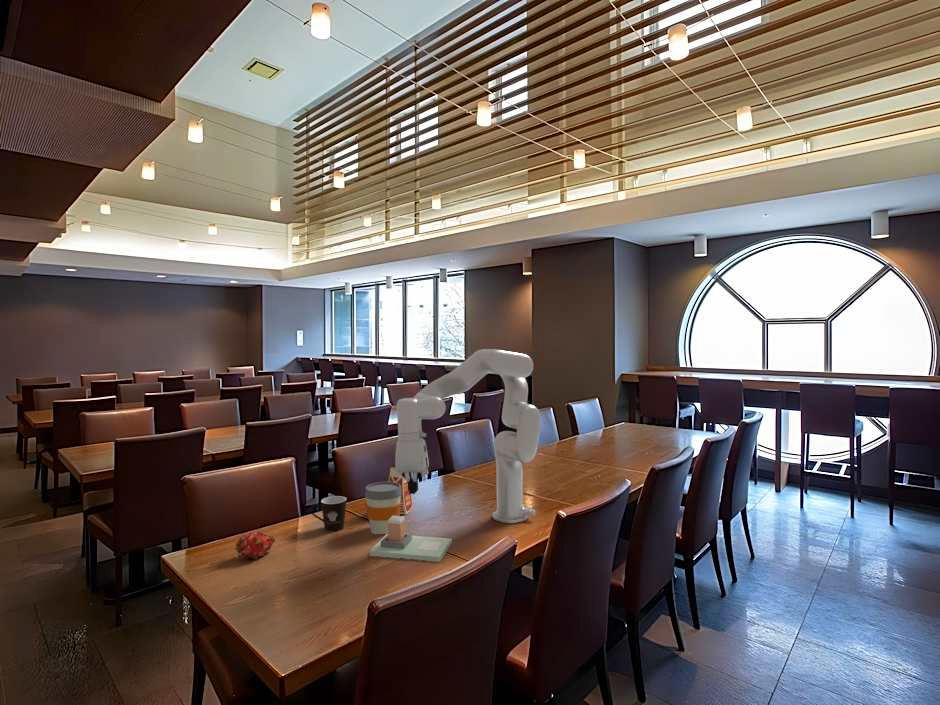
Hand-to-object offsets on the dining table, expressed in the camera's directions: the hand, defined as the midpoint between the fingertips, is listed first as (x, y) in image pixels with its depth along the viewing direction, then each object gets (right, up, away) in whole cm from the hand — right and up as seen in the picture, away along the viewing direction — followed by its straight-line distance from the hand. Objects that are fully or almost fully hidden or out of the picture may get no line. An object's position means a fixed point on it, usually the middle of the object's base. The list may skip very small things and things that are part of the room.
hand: (413, 492), depth 163 cm
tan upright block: (-5, -15, -5) cm, 16 cm away
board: (0, -16, -6) cm, 17 cm away
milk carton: (-9, -16, +31) cm, 36 cm away
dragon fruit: (-47, -17, -10) cm, 51 cm away
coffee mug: (-30, -16, +13) cm, 37 cm away
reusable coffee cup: (-11, -16, +11) cm, 22 cm away
